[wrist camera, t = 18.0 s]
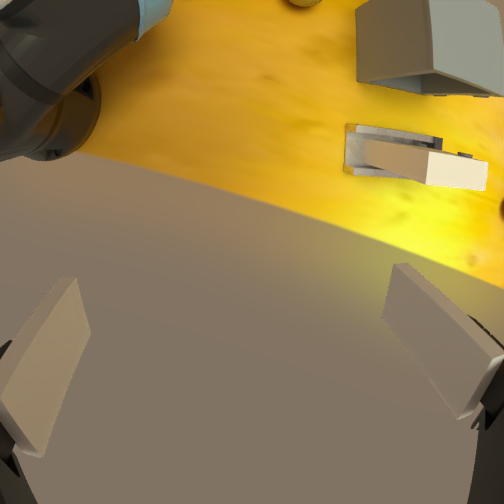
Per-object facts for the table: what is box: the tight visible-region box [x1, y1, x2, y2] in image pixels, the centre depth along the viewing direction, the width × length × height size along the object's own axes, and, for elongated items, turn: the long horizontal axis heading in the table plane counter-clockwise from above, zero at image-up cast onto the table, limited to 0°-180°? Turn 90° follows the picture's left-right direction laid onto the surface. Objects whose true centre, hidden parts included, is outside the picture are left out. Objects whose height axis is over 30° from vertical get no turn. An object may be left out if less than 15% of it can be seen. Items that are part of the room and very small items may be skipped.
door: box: [361, 138, 488, 191], centre depth 36 cm, size 10×4×16 cm, turn 90°
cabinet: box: [355, 0, 504, 98], centre depth 30 cm, size 13×12×18 cm
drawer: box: [343, 124, 443, 179], centre depth 42 cm, size 15×7×4 cm, turn 90°
